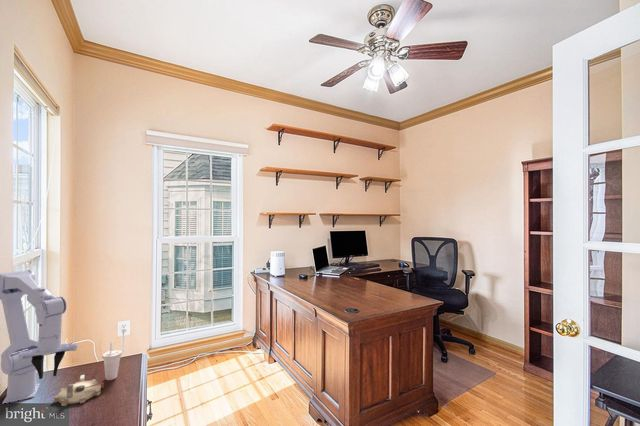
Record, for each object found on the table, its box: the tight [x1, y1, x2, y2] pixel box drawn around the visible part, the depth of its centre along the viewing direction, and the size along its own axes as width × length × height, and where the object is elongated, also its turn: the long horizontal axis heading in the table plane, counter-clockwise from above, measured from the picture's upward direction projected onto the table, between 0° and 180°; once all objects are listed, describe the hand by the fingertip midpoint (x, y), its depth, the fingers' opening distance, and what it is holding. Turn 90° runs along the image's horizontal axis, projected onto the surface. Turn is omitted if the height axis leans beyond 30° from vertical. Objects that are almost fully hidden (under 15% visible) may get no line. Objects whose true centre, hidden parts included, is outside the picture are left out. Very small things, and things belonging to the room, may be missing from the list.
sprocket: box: [53, 378, 105, 407], centre depth 109 cm, size 14×14×6 cm
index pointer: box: [79, 374, 86, 382], centre depth 116 cm, size 3×1×2 cm, turn 34°
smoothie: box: [102, 342, 123, 381], centre depth 120 cm, size 6×6×14 cm
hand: (48, 376), depth 101 cm, fingers open, 3 cm apart
